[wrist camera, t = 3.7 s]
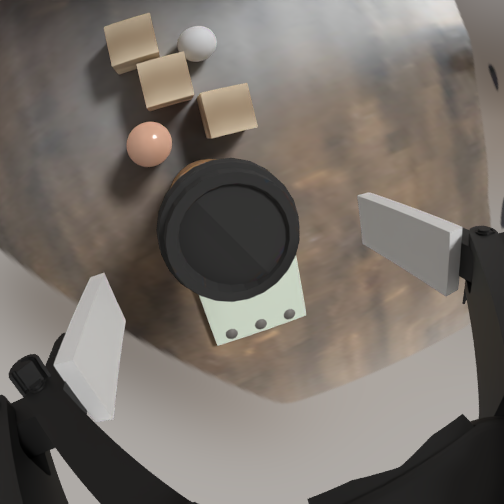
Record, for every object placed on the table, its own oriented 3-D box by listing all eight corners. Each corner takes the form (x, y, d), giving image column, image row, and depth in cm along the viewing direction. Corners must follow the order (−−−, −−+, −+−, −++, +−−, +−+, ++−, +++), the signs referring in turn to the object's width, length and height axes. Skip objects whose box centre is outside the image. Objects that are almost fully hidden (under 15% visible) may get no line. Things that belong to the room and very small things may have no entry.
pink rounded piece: (129, 131, 27) (121, 130, 22) (166, 119, 27) (165, 115, 23) (139, 167, 28) (133, 172, 24) (175, 155, 29) (176, 159, 24)
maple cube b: (140, 73, 25) (136, 64, 22) (181, 61, 26) (184, 51, 22) (149, 111, 27) (146, 108, 23) (191, 99, 27) (194, 94, 24)
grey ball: (173, 37, 25) (174, 25, 21) (209, 29, 25) (214, 17, 22) (181, 69, 26) (182, 60, 23) (217, 60, 26) (223, 52, 23)
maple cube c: (196, 98, 27) (200, 93, 24) (237, 89, 28) (247, 82, 24) (206, 138, 29) (211, 138, 25) (246, 128, 30) (257, 127, 26)
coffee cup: (202, 250, 33) (231, 334, 19) (143, 193, 29) (122, 243, 16) (263, 192, 32) (334, 239, 19) (206, 131, 29) (241, 126, 15)
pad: (184, 249, 32) (184, 252, 31) (286, 218, 34) (289, 220, 33) (216, 341, 37) (217, 345, 36) (303, 311, 39) (306, 315, 38)
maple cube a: (111, 39, 23) (103, 27, 20) (151, 26, 24) (149, 12, 20) (119, 75, 25) (111, 66, 21) (160, 62, 25) (158, 51, 22)
